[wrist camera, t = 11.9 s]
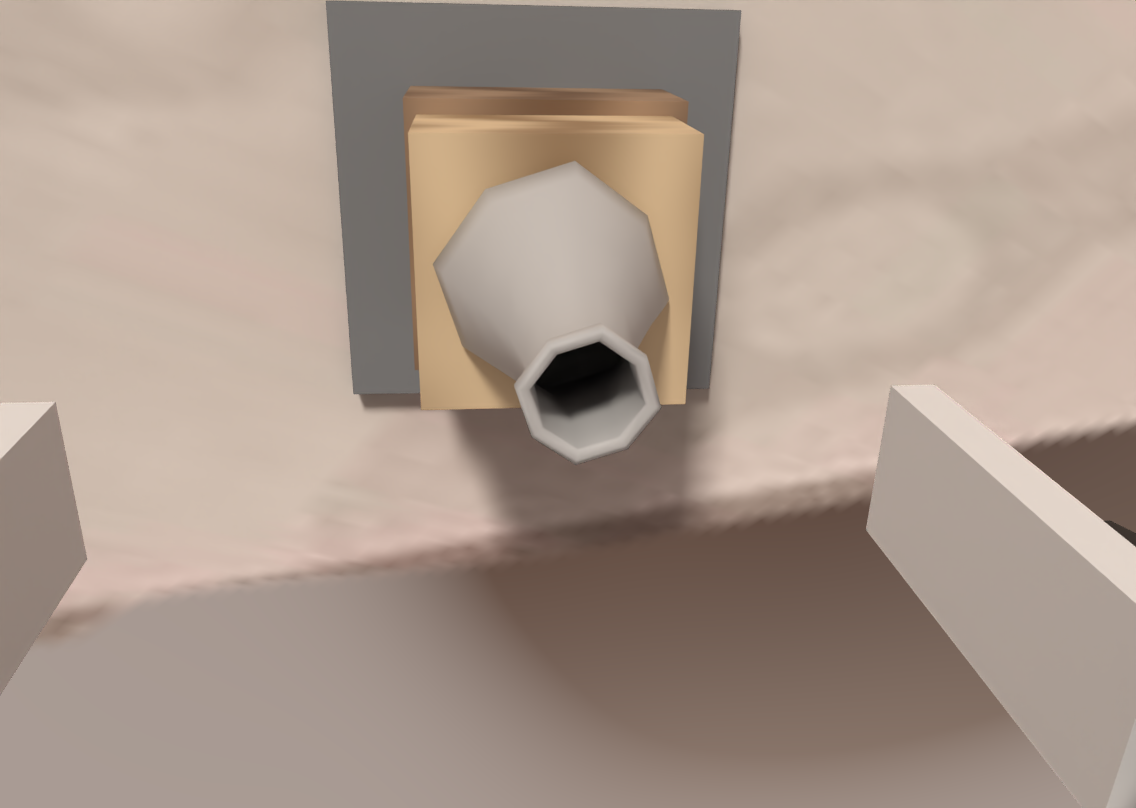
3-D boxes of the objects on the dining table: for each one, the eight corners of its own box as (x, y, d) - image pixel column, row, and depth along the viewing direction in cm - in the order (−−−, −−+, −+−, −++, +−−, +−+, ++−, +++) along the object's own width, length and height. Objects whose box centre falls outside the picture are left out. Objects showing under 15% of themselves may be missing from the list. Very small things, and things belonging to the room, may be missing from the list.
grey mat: (355, 385, 43) (353, 394, 42) (329, 0, 37) (325, 0, 36) (704, 380, 45) (708, 388, 44) (734, 10, 38) (741, 10, 38)
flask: (705, 302, 31) (803, 426, 22) (527, 423, 33) (550, 590, 23) (581, 116, 29) (635, 171, 20) (391, 255, 30) (359, 368, 21)
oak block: (426, 358, 37) (421, 410, 32) (416, 114, 33) (408, 133, 28) (658, 354, 37) (685, 404, 33) (672, 115, 34) (703, 134, 29)
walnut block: (420, 328, 41) (414, 370, 37) (410, 85, 37) (402, 97, 33) (648, 326, 42) (670, 366, 38) (662, 89, 38) (688, 101, 34)
